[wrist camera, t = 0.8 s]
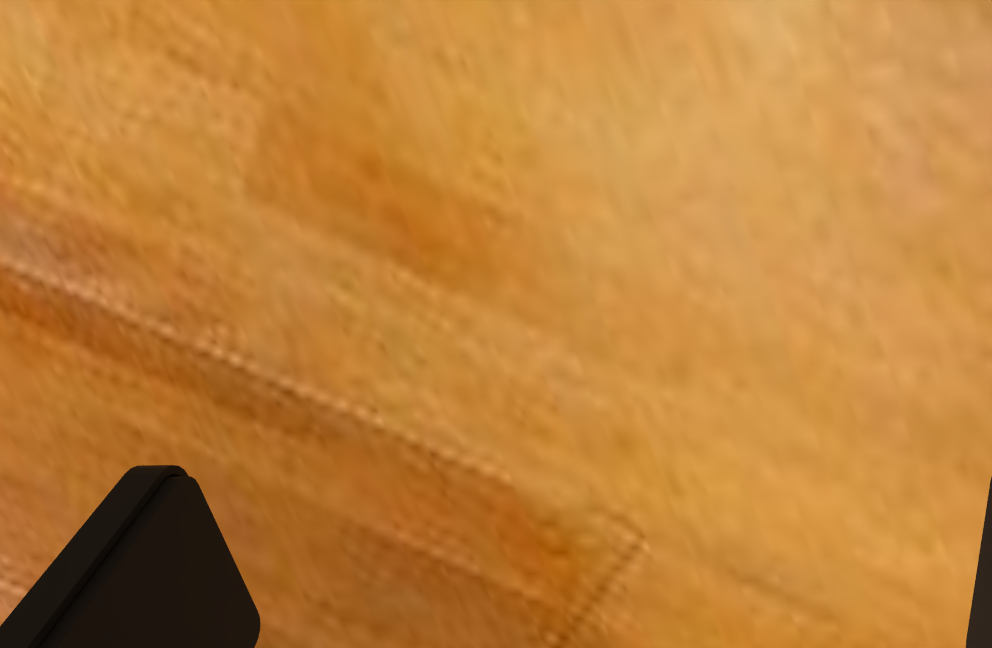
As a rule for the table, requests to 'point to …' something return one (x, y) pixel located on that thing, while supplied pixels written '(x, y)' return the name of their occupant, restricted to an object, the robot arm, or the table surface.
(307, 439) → the table surface
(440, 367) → the table surface
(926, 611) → the table surface
